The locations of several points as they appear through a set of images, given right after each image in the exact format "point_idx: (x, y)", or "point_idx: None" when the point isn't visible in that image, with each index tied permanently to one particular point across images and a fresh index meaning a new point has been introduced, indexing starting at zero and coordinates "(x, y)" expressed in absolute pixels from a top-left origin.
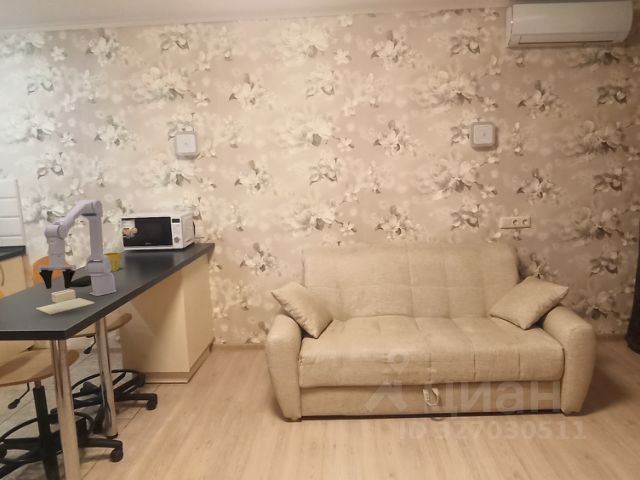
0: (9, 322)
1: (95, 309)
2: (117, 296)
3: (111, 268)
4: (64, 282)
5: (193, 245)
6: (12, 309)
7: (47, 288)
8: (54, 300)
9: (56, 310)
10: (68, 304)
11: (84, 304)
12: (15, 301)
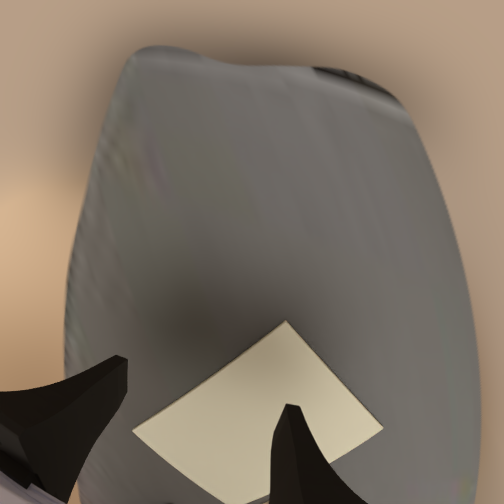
0: (443, 241)
1: (88, 333)
2: (93, 471)
3: None
4: (96, 380)
5: None
6: (462, 428)
7: (291, 406)
8: None
9: (271, 372)
10: (245, 447)
11: (164, 422)
12: (453, 496)
